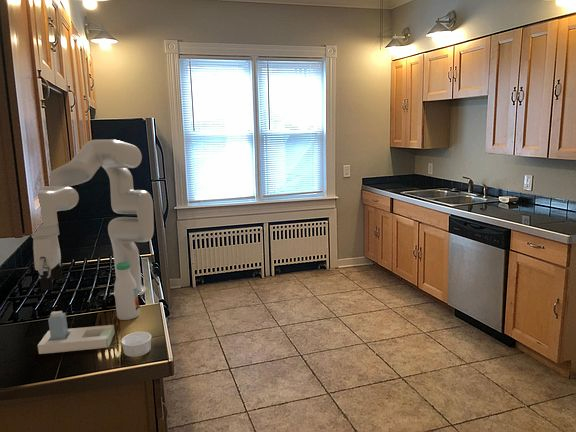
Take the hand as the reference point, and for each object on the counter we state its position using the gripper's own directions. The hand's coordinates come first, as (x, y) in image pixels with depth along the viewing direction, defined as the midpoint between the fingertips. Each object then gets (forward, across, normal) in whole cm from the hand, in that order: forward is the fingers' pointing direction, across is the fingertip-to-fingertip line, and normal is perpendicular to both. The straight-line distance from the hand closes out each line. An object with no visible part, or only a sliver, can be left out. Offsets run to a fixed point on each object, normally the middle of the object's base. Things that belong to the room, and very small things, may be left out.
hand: (52, 284), depth 147 cm
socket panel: (+20, 0, +5) cm, 21 cm away
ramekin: (+21, +9, +25) cm, 34 cm away
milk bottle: (+21, -18, +18) cm, 33 cm away
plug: (+21, 0, 0) cm, 21 cm away
